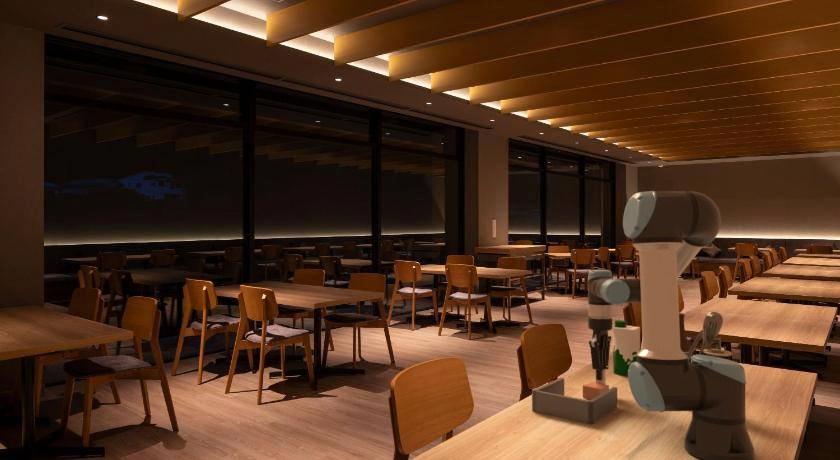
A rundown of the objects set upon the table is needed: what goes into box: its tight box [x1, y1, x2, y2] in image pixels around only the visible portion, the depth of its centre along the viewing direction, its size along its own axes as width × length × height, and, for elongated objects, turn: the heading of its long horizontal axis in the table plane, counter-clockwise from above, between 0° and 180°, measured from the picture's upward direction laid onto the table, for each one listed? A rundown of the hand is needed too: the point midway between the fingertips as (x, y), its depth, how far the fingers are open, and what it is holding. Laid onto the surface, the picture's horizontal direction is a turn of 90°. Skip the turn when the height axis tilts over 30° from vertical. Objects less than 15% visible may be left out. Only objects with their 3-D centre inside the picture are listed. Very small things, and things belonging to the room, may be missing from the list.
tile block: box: [582, 381, 610, 400], centre depth 180 cm, size 6×6×4 cm
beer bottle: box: [679, 312, 692, 362], centre depth 200 cm, size 8×8×24 cm
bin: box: [531, 377, 618, 425], centre depth 168 cm, size 19×18×6 cm
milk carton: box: [612, 319, 641, 377], centre depth 207 cm, size 9×9×20 cm
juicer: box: [687, 311, 724, 361], centre depth 168 cm, size 10×11×30 cm
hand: (600, 389), depth 183 cm, fingers closed
